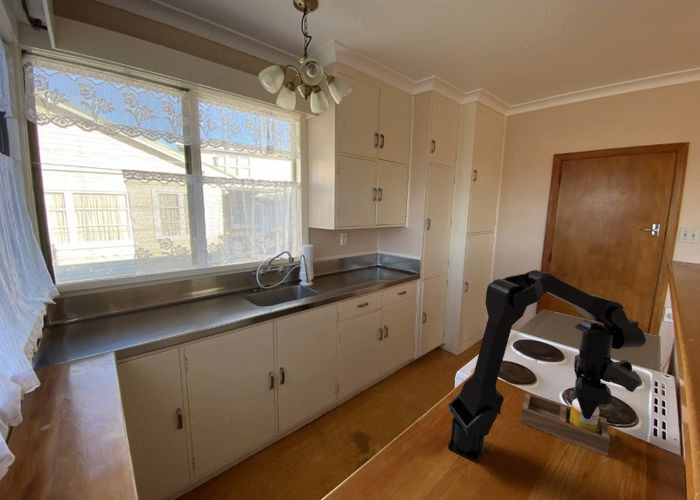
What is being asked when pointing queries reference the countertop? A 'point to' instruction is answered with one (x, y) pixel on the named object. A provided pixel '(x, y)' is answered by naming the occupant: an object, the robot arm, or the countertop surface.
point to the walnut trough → (563, 423)
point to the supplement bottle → (580, 421)
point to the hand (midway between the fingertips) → (585, 408)
